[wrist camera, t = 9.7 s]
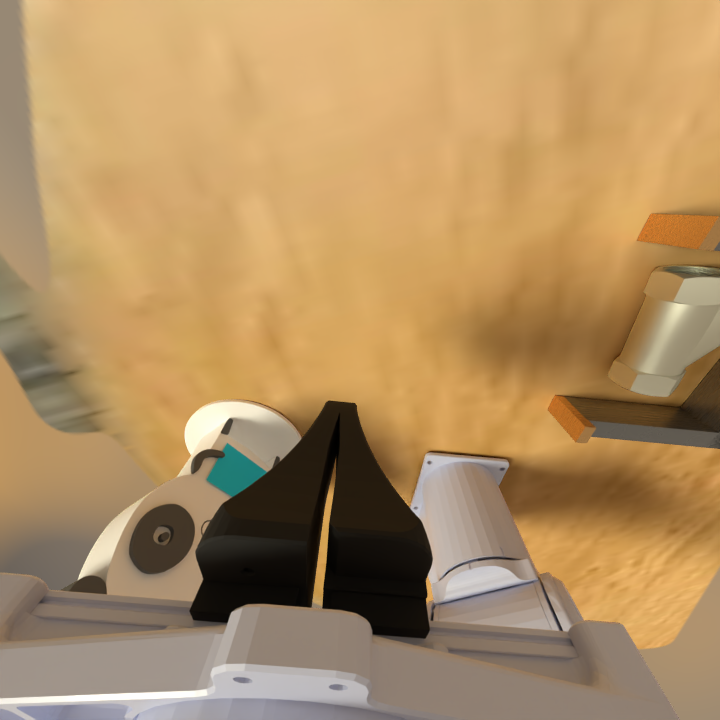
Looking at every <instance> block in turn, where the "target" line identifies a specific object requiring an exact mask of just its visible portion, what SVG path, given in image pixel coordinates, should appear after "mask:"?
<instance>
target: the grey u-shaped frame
mask: <svg viewBox="0 0 720 720" xmlns="http://www.w3.org/2000/svg"><path fill="white" fill-rule="evenodd" d="M637 241H644V242H651V243H658V244H665V245H672V246H679V247H687V248H694V249H702V250H711V251H714V250H715V251H720V216H697V215H670V214H651V215H650V217H649V219H648V220H647V222H646V224H645V226H644V228H643V230H642V232H641V234H640V236H639V238H638V239H637ZM548 411H549V412H550V413H551V414H552V415H553V416H554V418H555V419H556V420H557V421H558V422H559V423H560V425H561V426H562V427H563V428H564V429H565V430H566V431H567V433H568V434H569V435H570V436H571V437H572V438H573V440H574V441H575V442H578V443H587V442H588V440H589V439H590V437H600V438H611V439H621V440H632V441H642V442H653V443H664V444H674V445H685V446H696V447H706V448H717V449H720V359H719V361H718V362H717V363H716V364H715V366H714V367H713V368H712V369H711V371H710V372H709V373H708V374H707V375H706V377H705V378H704V379H703V380H702V382H701V383H700V384H699V385H698V387H697V388H696V389H695V390H694V391H693V393H692V394H691V395H690V396H689V398H688V399H687V400H686V401H685V403H684V404H683V405H682V406H681V407H680V408H679V407H669V406H659V405H648V404H638V403H628V402H617V401H607V400H597V399H586V398H576V397H566V396H555V397H554V399H553V401H552V402H551V404H550V406H549V408H548Z"/></svg>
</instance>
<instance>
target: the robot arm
mask: <svg viewBox="0 0 720 720" xmlns="http://www.w3.org/2000/svg"><path fill="white" fill-rule="evenodd" d="M335 459H336V481H335V488H334V495H333V502H332V509H331V515H330V522H329V535H328V549H327V563H326V571H325V579H324V588H323V590H324V592H323V607H322V609H319V608H311V607H312V599H313V591H314V584H315V576H316V568H317V561H318V553H319V546H320V538H321V531H322V523H323V516H324V509H325V503H326V498H327V494H328V490H329V485H330V481H331V476H332V472H333V468H334V463H335ZM508 467H509V462H508V461H507V460H506V459H498V458H487V457H476V456H465V455H454V454H443V453H433V452H429V453H427V454H426V455H425V458H424V461H423V465H422V468H421V472H420V475H419V478H418V482H417V485H416V489H415V492H414V496H413V499H412V502H411V506H410V508H409V506H408V505H407V504H406V503H405V502H404V500H403V499H402V498H401V497H400V495H399V494H398V493H397V492H396V490H395V489H394V487H393V486H392V485H391V483H390V482H389V480H388V479H387V478H386V476H385V474H384V473H383V471H382V470H381V468H380V466H379V465H378V463H377V461H376V459H375V457H374V455H373V453H372V451H371V449H370V447H369V445H368V443H367V440H366V438H365V435H364V433H363V430H362V427H361V424H360V421H359V417H358V413H357V405H356V404H355V403H348V402H337V401H327V402H326V403H325V406H324V408H323V409H322V411H321V413H320V414H319V416H318V417H317V419H316V420H315V422H314V423H313V425H312V426H311V427H310V429H309V430H308V431H307V433H306V434H305V435H304V436H303V437H302V439H301V440H300V441H299V442H298V443H297V445H296V446H295V447H294V448H293V449H292V450H291V451H290V452H289V453H288V454H287V455H286V456H285V457H284V458H283V459H282V460H281V461H280V462H278V463H277V464H276V465H275V466H274V467H273V468H272V469H271V470H269V471H268V472H267V473H266V474H264V475H263V476H262V477H260V478H259V479H258V480H256V481H255V482H254V483H253V484H251V485H250V486H248V487H247V488H246V489H244V490H243V491H241V492H239V493H238V494H236V495H235V496H233V497H232V498H230V499H229V500H227V501H225V502H224V503H222V505H221V506H220V507H219V509H218V510H217V512H216V513H215V515H214V516H213V518H212V519H211V521H210V522H209V524H208V526H207V528H206V530H205V532H204V534H203V536H202V538H201V540H200V542H199V544H198V546H197V548H196V551H195V554H196V559H197V562H198V565H199V568H200V571H201V574H202V577H203V581H202V583H201V585H200V588H199V590H198V592H197V594H196V597H195V599H194V601H182V600H169V599H157V598H145V597H132V596H120V595H107V594H95V593H82V592H70V591H58V590H57V591H56V590H49V589H48V586H47V585H46V583H45V582H44V581H43V580H41V579H40V578H38V577H35V576H31V575H25V574H12V573H0V720H680V719H679V717H678V716H677V714H676V712H675V711H674V709H673V707H672V706H671V704H670V702H669V701H668V699H667V697H666V696H665V694H664V692H663V691H662V689H661V687H660V686H659V684H658V682H657V681H656V679H655V677H654V676H653V674H652V672H651V671H650V669H649V667H648V666H647V664H646V662H645V661H644V659H643V657H642V656H641V654H640V652H639V651H638V649H637V647H636V646H635V644H634V642H633V641H632V639H631V637H630V636H629V634H628V632H627V631H626V629H625V627H624V626H623V625H622V624H620V623H615V622H603V621H591V620H585V621H584V620H583V618H582V616H581V614H580V612H579V610H578V609H577V607H576V605H575V603H574V601H573V599H572V598H571V596H570V594H569V592H568V591H567V589H566V587H565V585H564V584H563V582H562V581H561V580H559V579H557V578H555V577H553V576H552V575H551V574H550V573H549V572H546V573H543V574H539V572H538V571H537V569H536V568H535V566H534V563H533V561H532V559H531V557H530V555H529V552H528V550H527V548H526V546H525V544H524V541H523V539H522V537H521V535H520V533H519V530H518V528H517V526H516V524H515V522H514V519H513V517H512V515H511V513H510V511H509V508H508V506H507V504H506V502H505V500H504V497H503V495H502V493H501V491H500V489H499V485H500V483H501V481H502V479H503V477H504V475H505V473H506V471H507V469H508ZM418 517H419V518H418ZM427 576H428V577H429V580H430V582H431V587H432V593H433V599H434V600H432V601H429V602H428V603H427V605H426V598H427V587H426V578H427Z"/></svg>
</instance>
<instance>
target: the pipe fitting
mask: <svg viewBox="0 0 720 720" xmlns="http://www.w3.org/2000/svg"><path fill="white" fill-rule="evenodd" d="M643 293H645V294H647V295H646V298H645V300H644V302H643V304H642V307H641V309H640V311H639V314H638V316H637V318H636V320H635V323H634V325H633V327H632V330H631V332H630V334H629V336H628V339H627V341H626V343H625V345H624V348H623V350H622V352H621V355H620V356H618V357H617V358H616V359H615V360H614V361H613V364H612V366H611V368H610V371H609V373H608V375H607V376H608V377H609V378H610V379H611V380H612V381H614V382H615V383H616V384H618V385H619V386H621V387H623V388H625V389H627V390H630V391H633V392H636V393H639V394H643V395H649V396H658V397H668V396H669V395H670V394H671V393H672V392H673V391H674V390H675V389H676V388H677V386H678V385H679V383H680V381H681V379H682V378H683V376H684V374H685V373H686V370H684V369H685V367H687V366H689V365H690V364H692V363H693V362H695V361H696V360H698V359H700V358H701V357H703V356H704V355H706V354H708V353H709V352H711V351H712V350H714V349H715V348H717V347H719V346H720V268H713V267H704V266H688V265H669V266H661V267H658V268H656V269H655V270H654V271H652V273H651V275H650V278H649V280H648V282H647V285H646V287H645V289H644V291H643Z"/></svg>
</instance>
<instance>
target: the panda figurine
mask: <svg viewBox="0 0 720 720" xmlns="http://www.w3.org/2000/svg"><path fill="white" fill-rule="evenodd" d="M301 439H302V438H301V435H300V434H299V432H298V431H297V429H296V428H295V427H294V425H293V424H292V423H291V422H290V421H289V420H288V419H286V418H285V417H284V416H283V415H281V414H280V413H278V412H276V411H275V410H273V409H271V408H269V407H267V406H264V405H262V404H259V403H255V402H251V401H246V400H238V399H228V400H220V401H215V402H212V403H209V404H207V405H205V406H203V407H201V408H200V409H198V410H197V411H196V412H195V413H194V414H193V415H192V417H191V418H190V419H189V421H188V423H187V425H186V428H185V443H186V446H187V448H188V451H189V452H190V454H191V457H190V458H189V460H188V461H187V463H186V464H185V466H184V467H183V469H182V470H181V471H180V473H179V474H178V476H177V477H176V478H174V479H171V480H169V481H167V482H165V483H164V484H162V485H161V486H159V487H158V488H156V489H155V490H153V491H152V492H150V493H149V494H147V495H146V496H144V497H143V498H141V499H140V500H138V501H137V502H135V503H134V504H132V505H131V506H129V507H128V508H126V509H125V510H124V511H123V512H121V513H120V514H119V515H118V516H117V517H116V518H115V519H113V520H112V522H111V523H110V524H109V525H108V526H107V527H106V528H105V530H104V531H103V532H102V534H101V535H100V537H99V538H98V540H97V541H96V543H95V544H94V546H93V548H92V550H91V551H90V554H89V555H88V557H87V559H86V561H85V564H84V566H83V568H82V570H81V573H80V575H79V578H78V580H77V581H76V582H74V583H72V584H71V585H69V586H67V587H65V588H64V589H62V590H60V591H70V592H82V593H95V594H107V595H120V596H132V597H145V598H157V599H169V600H182V601H194V599H195V597H196V594H197V592H198V590H199V588H200V585H201V583H202V581H203V577H202V574H201V571H200V568H199V565H198V562H197V559H196V554H195V551H196V548H197V546H198V544H199V542H200V540H201V538H202V536H203V534H204V532H205V530H206V528H207V526H208V524H209V522H210V521H211V519H212V518H213V516H214V515H215V513H216V512H217V510H218V509H219V507H220V506H221V505H222V503H224V502H225V501H227V500H229V499H230V498H232V497H233V496H235V495H236V494H238V493H239V492H241V491H243V490H244V489H246V488H247V487H248V486H250V485H251V484H253V483H254V482H255V481H256V480H258V479H259V478H260V477H262V476H263V475H264V474H266V473H267V472H268V471H269V470H271V469H272V468H273V467H274V466H275V465H276V464H277V463H278V462H280V461H281V460H282V459H283V458H284V457H285V456H286V455H287V454H288V453H289V452H290V451H291V450H292V449H293V448H294V447H295V446H296V445H297V443H298V442H299V441H300V440H301Z"/></svg>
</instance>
